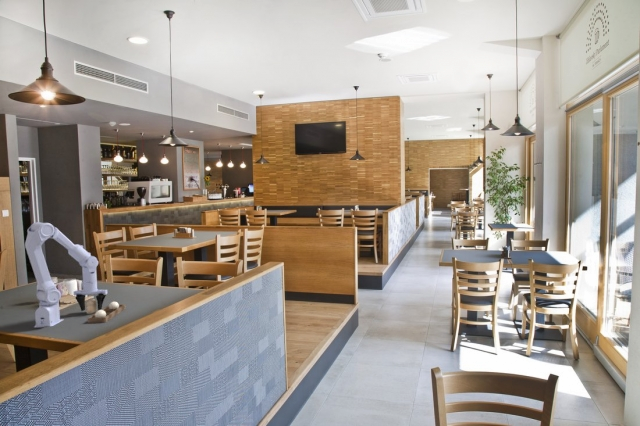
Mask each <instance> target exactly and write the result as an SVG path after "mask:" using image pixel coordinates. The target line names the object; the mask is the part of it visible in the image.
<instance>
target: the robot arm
mask: <svg viewBox="0 0 640 426" xmlns="http://www.w3.org/2000/svg"><path fill="white" fill-rule="evenodd" d="M26 232H27V235H26V240H25V243H24V246H25V250H26V254H27V256H28V259H29V263H30V265H31V268H32V271H33V274H34V277H35V280H36V283H37V285H36V295H35V296H36V298H37V300H39V307H38V308H37V309H36V310H35V313H34V315H35V316H34V317H35V319H34V320H35V325H34V326H33V328H46V327H53V326H55V325H57V324H59V323H60V322H63V321H64V320H65V319H64V318H61V316H60V315H61V314H60V300H61V298H62V293H61V291H60V290H59V289H58V288H57V285H55V284H54V283H53V282H52V280H51V277H52V276H51V275H50V274H51V273H50V271H49V269H48V265H47V262H46V258H45V256H44V253H43V249H42V246H43V244H44V243H45V242H46V241H47V240H48V239H53V240H54V241H56V242H57V243H59V244H60V245H61V246H63V247H64V249H66V250H67V252H68V255H69V256H71V258H73V260H75V261H76V262H78V264H79V266H81V268H82V269H81V270H82V289H81V290H78V289H77V291H74V296H76V297H75V299H76V300H77V302H76V303H78V304H79V308H80V310H81V312H84V311H86V296H92V295H93V296H95V295H96V296H95V298H96V299H95V300H96V303H97V311H98V310H102V309H103V303H104V301H105V298H106V296H107V295H108V289H98V278H97V277H98V276H97V266H98V265H99V261H98V257H95V256H94V255H91V252H88V250H86V249H85V248H84V245H83V244H82V245H81V244H74V243H73V242H72V241H71V240H70V239H69V238H68V237H67V236H66V235H65V234H64V233H63V232H61V231H60V230H59V228H57V227H55V226H54V225H53V224H51V223H49V222H41V221H36V222H33V223H32V224H31V225H30V226H29V227H28V228H27V231H26Z"/></svg>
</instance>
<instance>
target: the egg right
mask: <svg viewBox="0 0 640 426" xmlns="http://www.w3.org/2000/svg"><path fill="white" fill-rule="evenodd" d="M108 305H109V309H116V308H119V305H120V304H119V303H118V302H117V301H111V302H110V303H109V304H108Z"/></svg>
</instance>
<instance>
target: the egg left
mask: <svg viewBox="0 0 640 426" xmlns="http://www.w3.org/2000/svg"><path fill="white" fill-rule="evenodd" d="M94 314H95V318H97V317H106V312H105V311H104V310H102V309H101V310H98V309H97V312H96V313H94Z"/></svg>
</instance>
